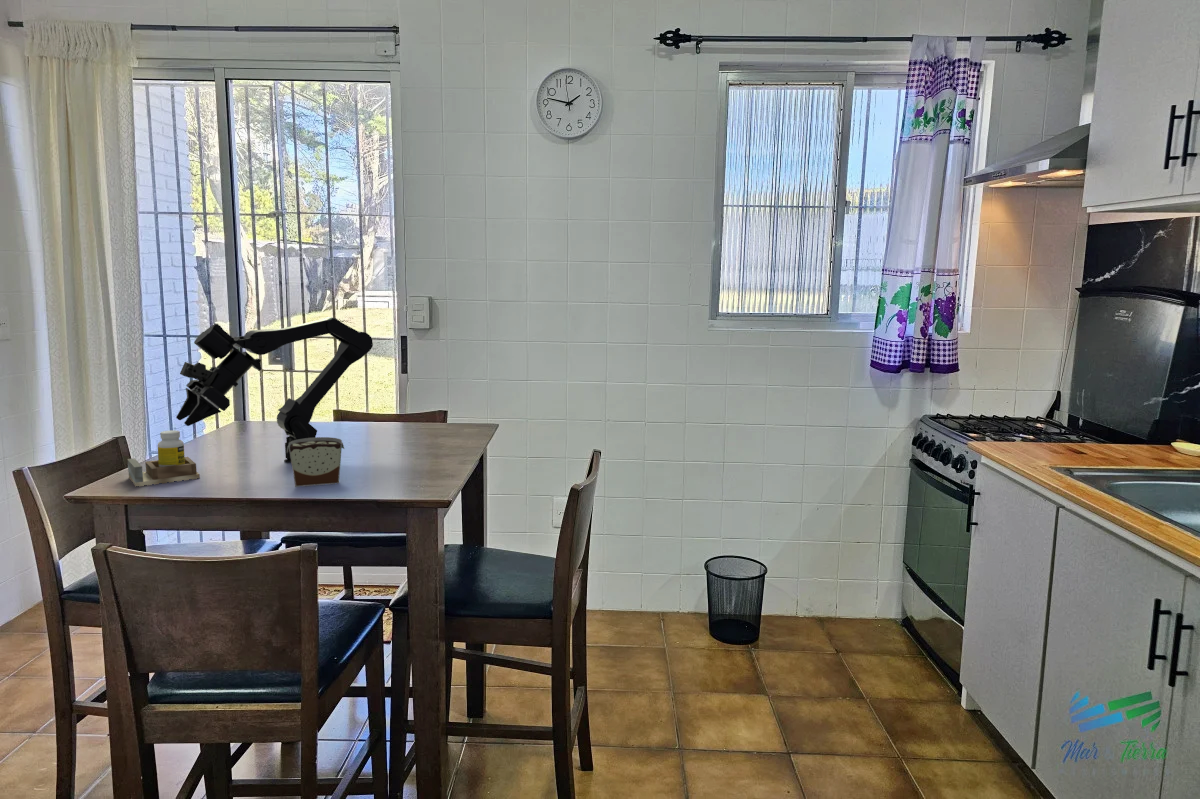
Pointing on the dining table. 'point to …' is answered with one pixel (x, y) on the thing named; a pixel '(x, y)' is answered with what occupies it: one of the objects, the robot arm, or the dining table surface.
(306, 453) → the food container
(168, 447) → the supplement bottle
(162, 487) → the dining table surface
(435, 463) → the dining table surface
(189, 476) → the wooden display tray
